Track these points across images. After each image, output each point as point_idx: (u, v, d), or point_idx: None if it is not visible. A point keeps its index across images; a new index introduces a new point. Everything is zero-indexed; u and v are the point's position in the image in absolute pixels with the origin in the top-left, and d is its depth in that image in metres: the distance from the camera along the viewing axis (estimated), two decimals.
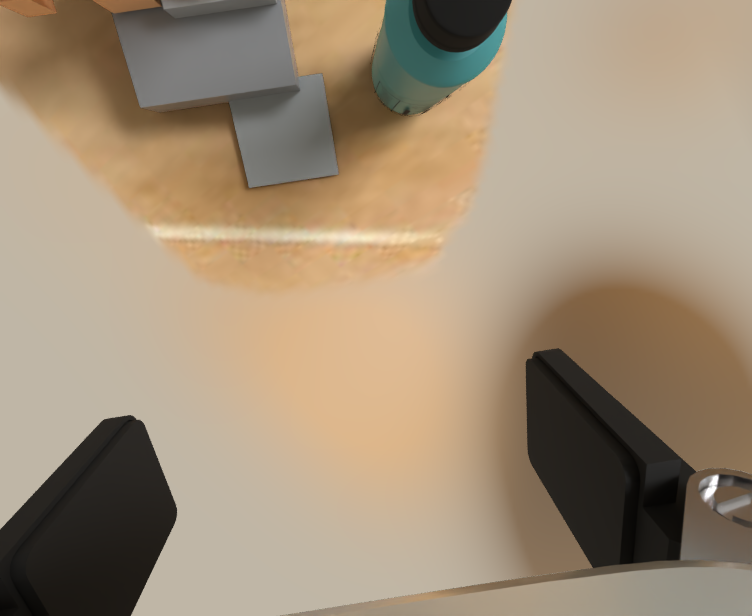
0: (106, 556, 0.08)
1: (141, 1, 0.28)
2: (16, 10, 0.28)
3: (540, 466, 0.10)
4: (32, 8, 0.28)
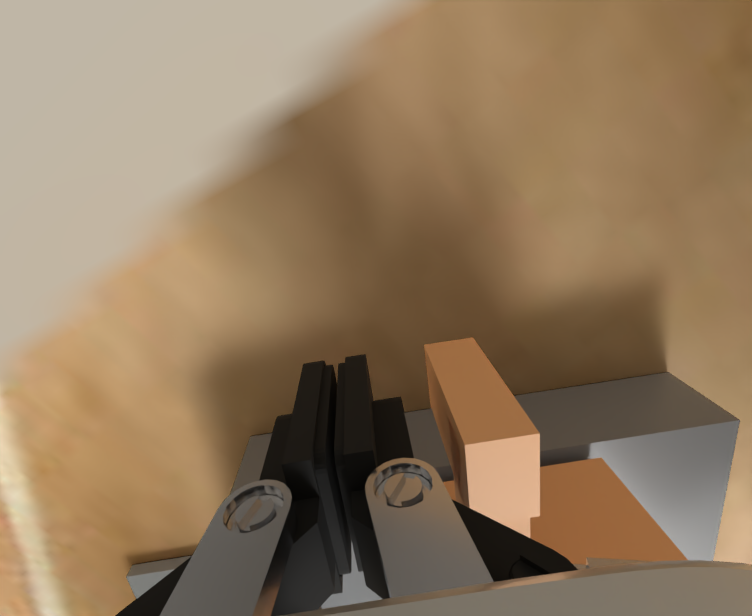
0: None
1: None
2: (433, 373, 0.11)
3: None
4: (436, 407, 0.11)
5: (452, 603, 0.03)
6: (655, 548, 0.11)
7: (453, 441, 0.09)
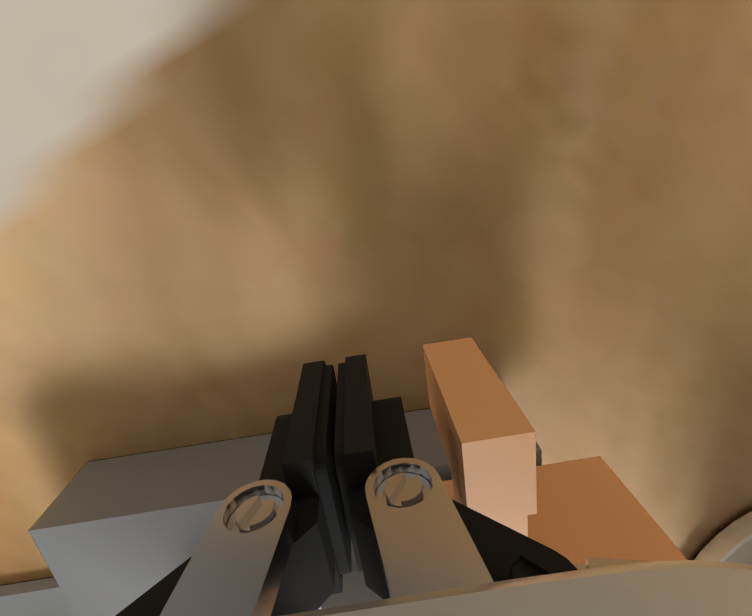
0: None
1: None
2: (431, 373, 0.11)
3: None
4: (435, 406, 0.11)
5: (452, 603, 0.03)
6: (653, 546, 0.11)
7: (451, 440, 0.09)
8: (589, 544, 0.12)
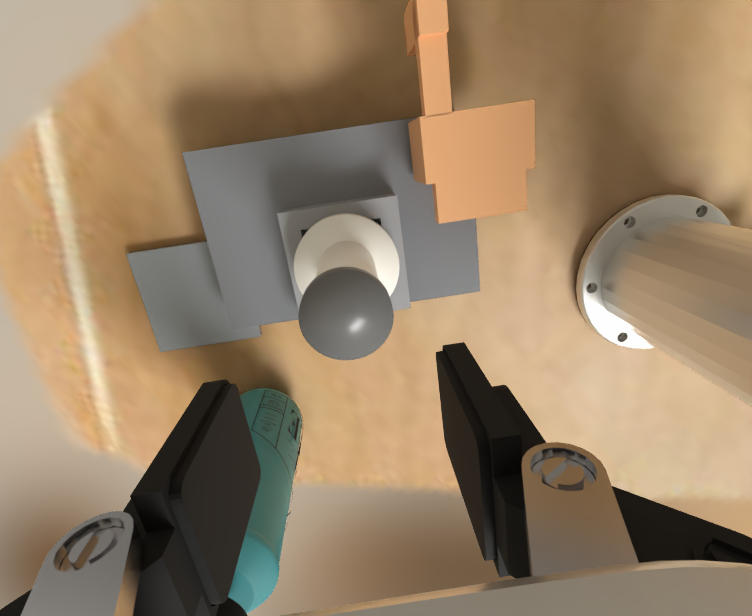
0: (223, 497, 0.09)
1: (416, 167, 0.25)
2: (406, 11, 0.22)
3: (450, 450, 0.11)
4: (409, 34, 0.23)
5: (452, 603, 0.03)
6: None
7: (413, 11, 0.21)
8: None
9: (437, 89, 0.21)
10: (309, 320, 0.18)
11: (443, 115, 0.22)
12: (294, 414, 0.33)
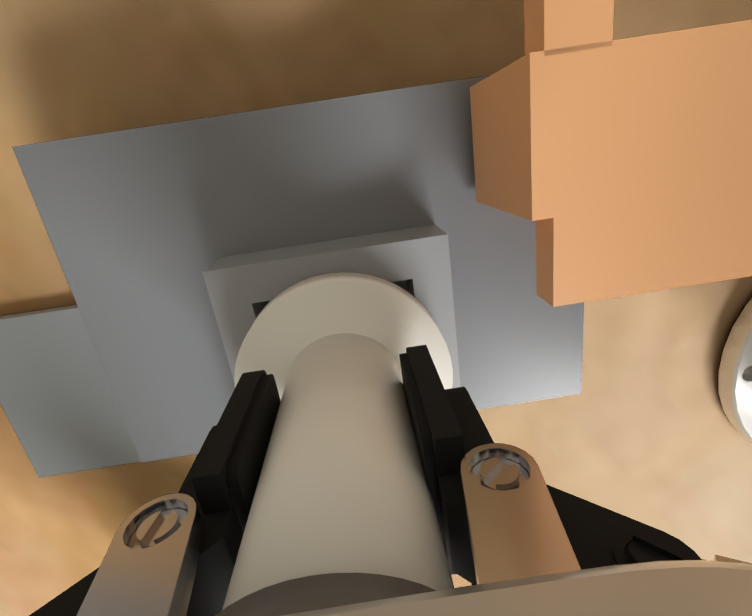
0: None
1: (488, 178, 0.12)
2: None
3: None
4: None
5: (452, 603, 0.03)
6: None
7: None
8: None
9: None
10: None
11: (589, 50, 0.09)
12: None
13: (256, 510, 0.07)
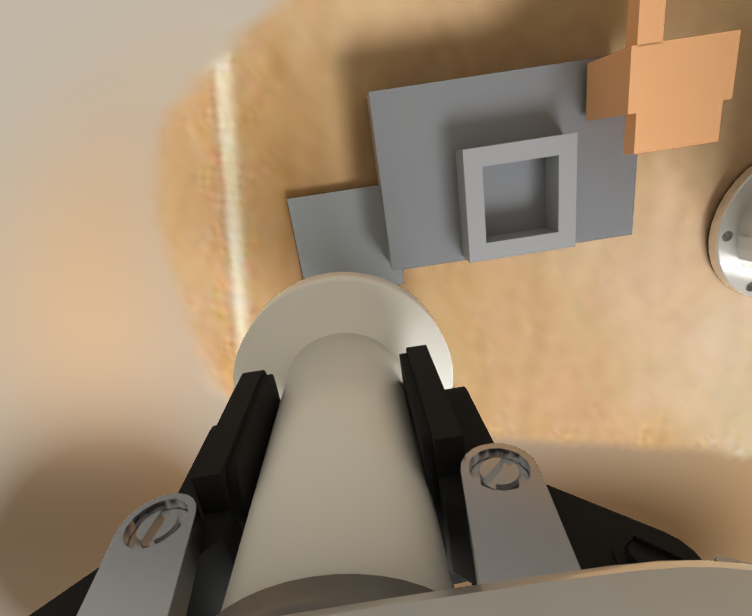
0: None
1: (597, 105, 0.26)
2: None
3: None
4: None
5: (452, 603, 0.03)
6: None
7: None
8: None
9: (652, 18, 0.22)
10: None
11: (654, 44, 0.23)
12: None
13: (255, 510, 0.07)
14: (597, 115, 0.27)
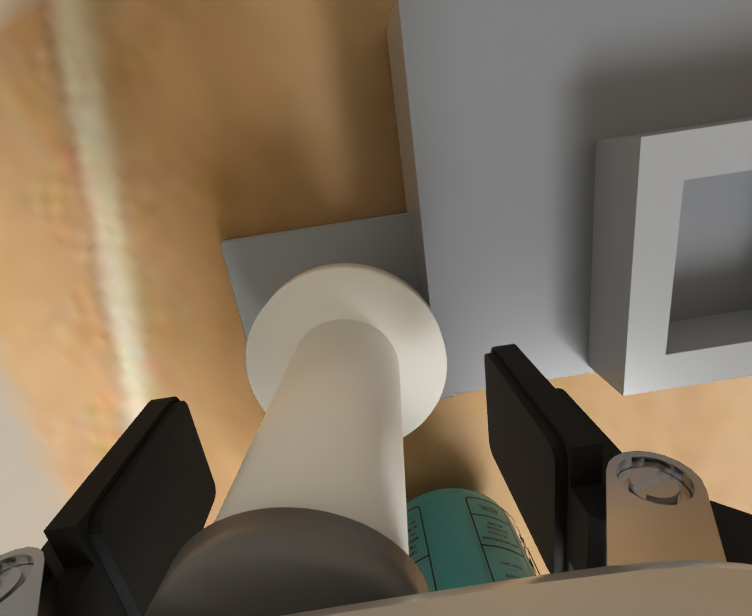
0: (162, 524, 0.08)
1: None
2: None
3: (498, 455, 0.10)
4: None
5: (452, 603, 0.03)
6: None
7: None
8: None
9: None
10: None
11: None
12: None
13: (243, 464, 0.08)
14: None
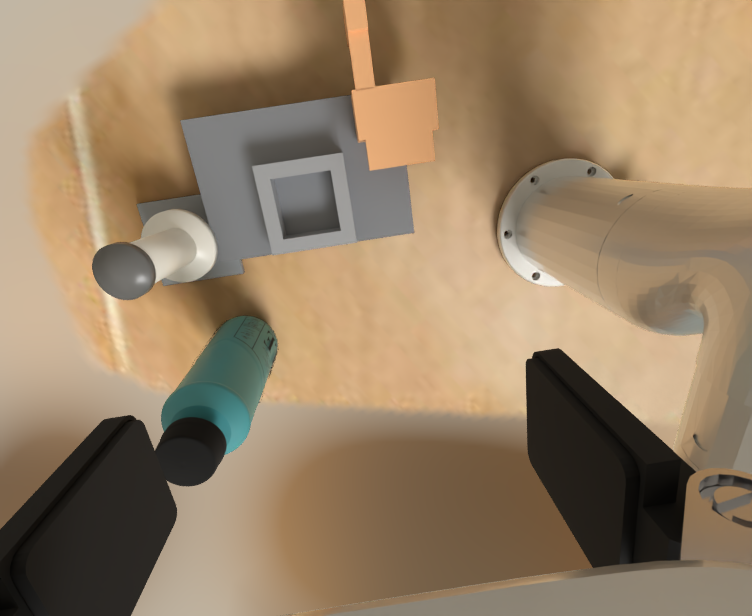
0: (106, 556, 0.08)
1: (356, 131, 0.34)
2: (343, 14, 0.31)
3: (540, 466, 0.10)
4: None
5: (452, 603, 0.03)
6: None
7: (344, 14, 0.29)
8: None
9: (363, 69, 0.30)
10: (99, 274, 0.29)
11: (368, 89, 0.30)
12: (270, 335, 0.41)
13: None
14: (357, 139, 0.34)
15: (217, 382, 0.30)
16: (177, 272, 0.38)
